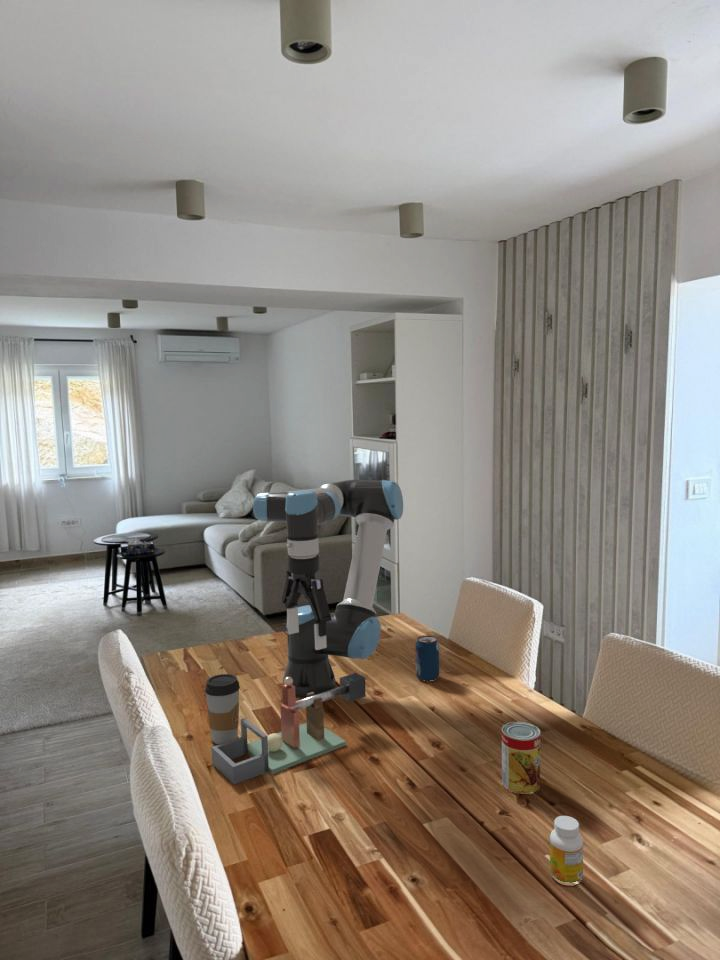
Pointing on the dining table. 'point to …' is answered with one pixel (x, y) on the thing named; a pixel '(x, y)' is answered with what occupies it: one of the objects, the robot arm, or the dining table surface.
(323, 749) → the mat
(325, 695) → the stand
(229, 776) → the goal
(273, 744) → the ball
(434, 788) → the dining table surface
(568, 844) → the supplement bottle
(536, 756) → the canned food
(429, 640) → the soda can
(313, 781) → the dining table surface
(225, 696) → the coffee cup
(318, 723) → the foosball player figure
